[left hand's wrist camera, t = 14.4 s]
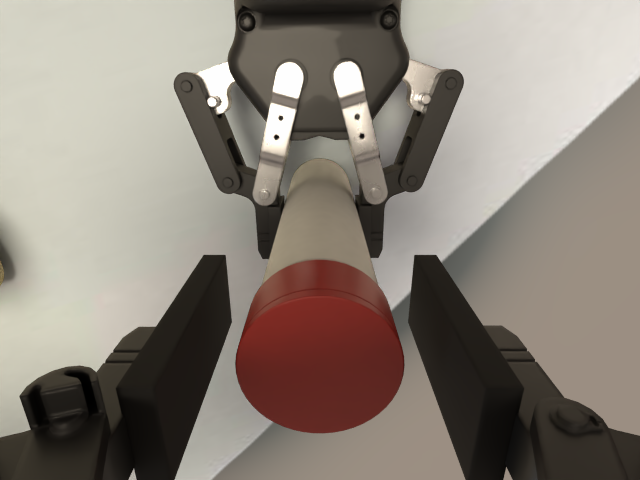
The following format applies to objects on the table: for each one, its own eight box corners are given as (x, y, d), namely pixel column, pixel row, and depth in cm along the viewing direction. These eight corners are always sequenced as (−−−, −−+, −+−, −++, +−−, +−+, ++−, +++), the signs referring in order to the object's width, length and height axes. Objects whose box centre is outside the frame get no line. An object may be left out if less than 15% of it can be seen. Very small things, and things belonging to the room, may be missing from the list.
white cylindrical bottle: (322, 145, 27) (325, 258, 10) (361, 189, 28) (424, 359, 11) (278, 185, 28) (214, 350, 11) (317, 226, 29) (314, 433, 12)
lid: (232, 271, 12) (215, 311, 10) (381, 247, 12) (394, 282, 10) (266, 389, 13) (257, 443, 11) (398, 370, 13) (412, 422, 11)
